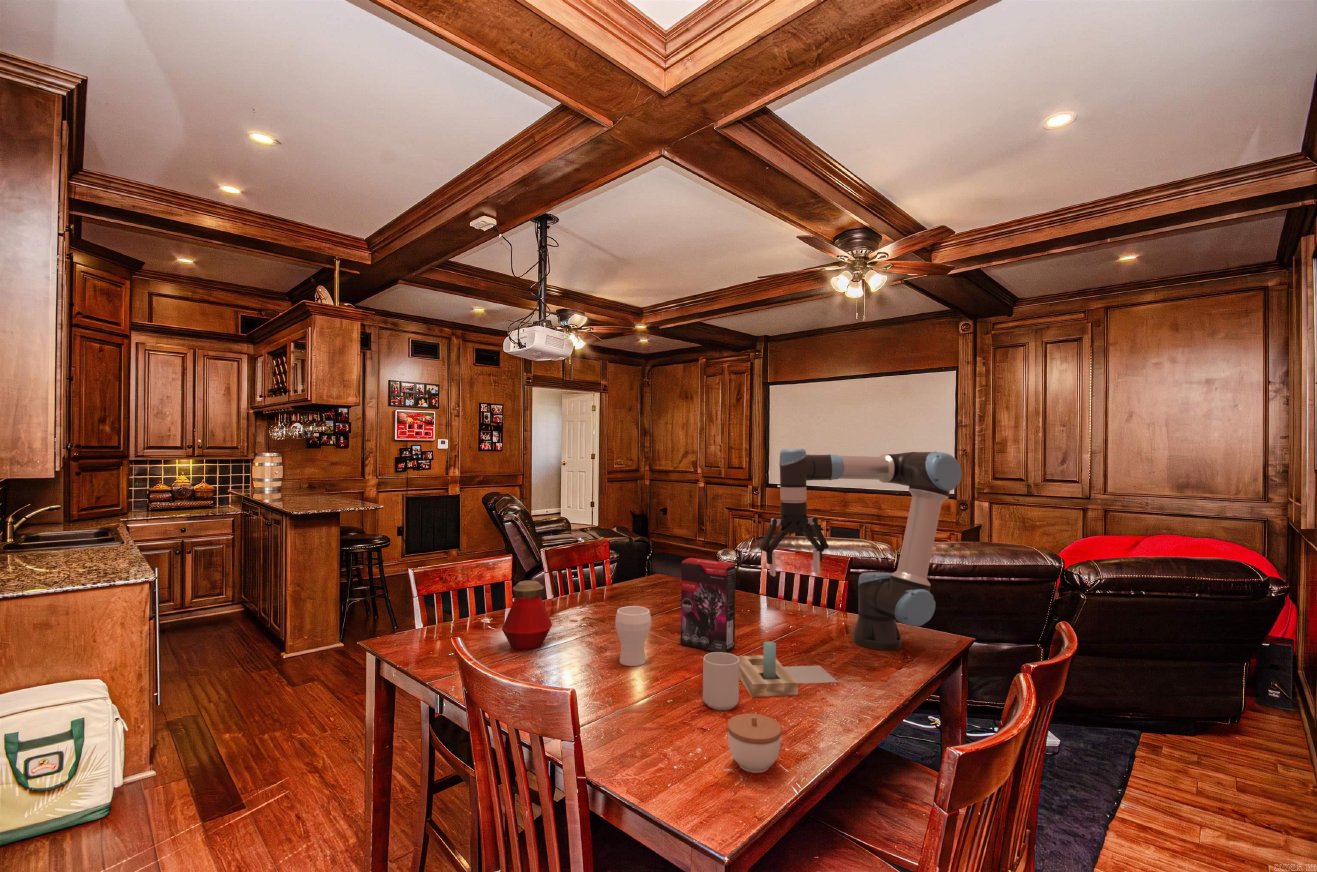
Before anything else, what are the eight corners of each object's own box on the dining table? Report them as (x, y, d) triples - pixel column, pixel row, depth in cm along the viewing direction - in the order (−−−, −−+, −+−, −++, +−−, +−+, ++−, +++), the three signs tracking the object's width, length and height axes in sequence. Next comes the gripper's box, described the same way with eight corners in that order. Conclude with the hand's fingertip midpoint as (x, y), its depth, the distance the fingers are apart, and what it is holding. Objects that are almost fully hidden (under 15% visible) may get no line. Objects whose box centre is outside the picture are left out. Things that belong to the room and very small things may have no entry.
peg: (773, 686, 153) (773, 641, 153) (777, 691, 150) (777, 645, 150) (761, 686, 153) (762, 641, 153) (765, 691, 150) (765, 645, 150)
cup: (657, 661, 170) (658, 610, 170) (632, 671, 162) (633, 617, 162) (632, 652, 177) (633, 603, 177) (607, 661, 169) (608, 610, 170)
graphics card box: (678, 644, 185) (679, 559, 185) (689, 639, 191) (690, 556, 191) (726, 656, 175) (727, 566, 176) (736, 649, 181) (737, 563, 182)
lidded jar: (720, 772, 112) (721, 723, 112) (733, 746, 122) (734, 701, 122) (776, 784, 108) (777, 734, 108) (784, 756, 118) (785, 710, 118)
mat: (819, 666, 168) (819, 665, 168) (837, 683, 156) (837, 681, 156) (780, 668, 166) (780, 666, 166) (795, 684, 154) (795, 683, 154)
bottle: (549, 636, 190) (550, 576, 191) (554, 650, 177) (556, 585, 178) (500, 641, 185) (501, 578, 186) (502, 655, 173) (504, 588, 173)
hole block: (772, 667, 167) (772, 654, 167) (798, 696, 147) (798, 682, 147) (732, 668, 165) (732, 656, 165) (752, 698, 146) (752, 684, 146)
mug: (732, 714, 136) (733, 667, 137) (697, 707, 140) (698, 661, 140) (746, 695, 147) (746, 651, 148) (713, 688, 151) (713, 646, 151)
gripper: (827, 498, 174) (828, 569, 173) (748, 501, 170) (749, 573, 169) (839, 501, 166) (840, 574, 166) (756, 503, 162) (758, 579, 162)
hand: (794, 574), depth 168 cm, fingers open, 13 cm apart
